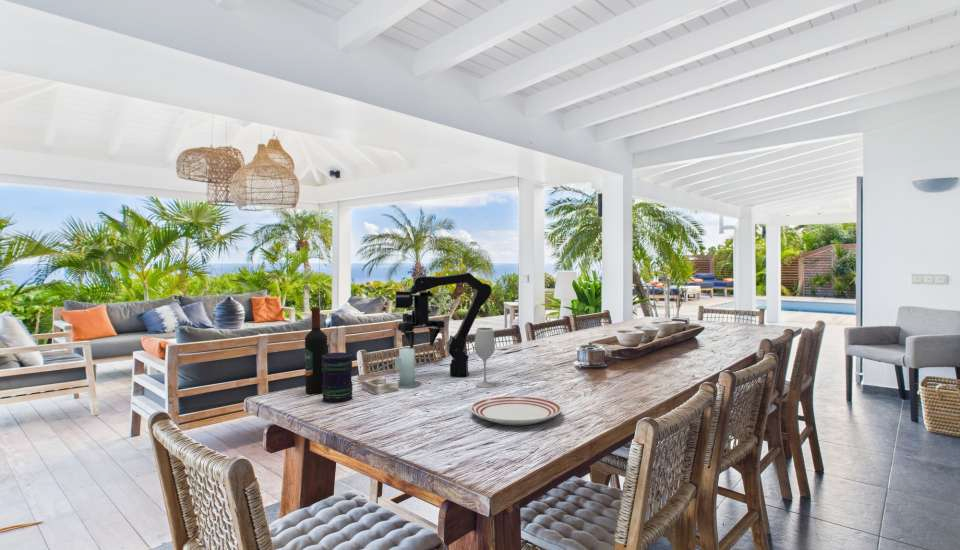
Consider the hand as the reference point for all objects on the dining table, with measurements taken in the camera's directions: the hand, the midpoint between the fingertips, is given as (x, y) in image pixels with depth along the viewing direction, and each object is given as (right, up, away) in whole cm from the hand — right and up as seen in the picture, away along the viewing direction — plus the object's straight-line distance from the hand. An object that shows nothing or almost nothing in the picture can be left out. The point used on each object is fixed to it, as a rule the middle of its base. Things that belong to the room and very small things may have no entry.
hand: (421, 347), depth 204 cm
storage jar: (-25, -13, -31) cm, 42 cm away
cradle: (-13, -13, -19) cm, 26 cm away
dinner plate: (+34, -14, -50) cm, 62 cm away
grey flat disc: (-4, -12, -12) cm, 18 cm away
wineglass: (+25, -13, -13) cm, 31 cm away
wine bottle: (-35, -13, -21) cm, 43 cm away
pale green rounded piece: (-5, -12, -13) cm, 18 cm away
